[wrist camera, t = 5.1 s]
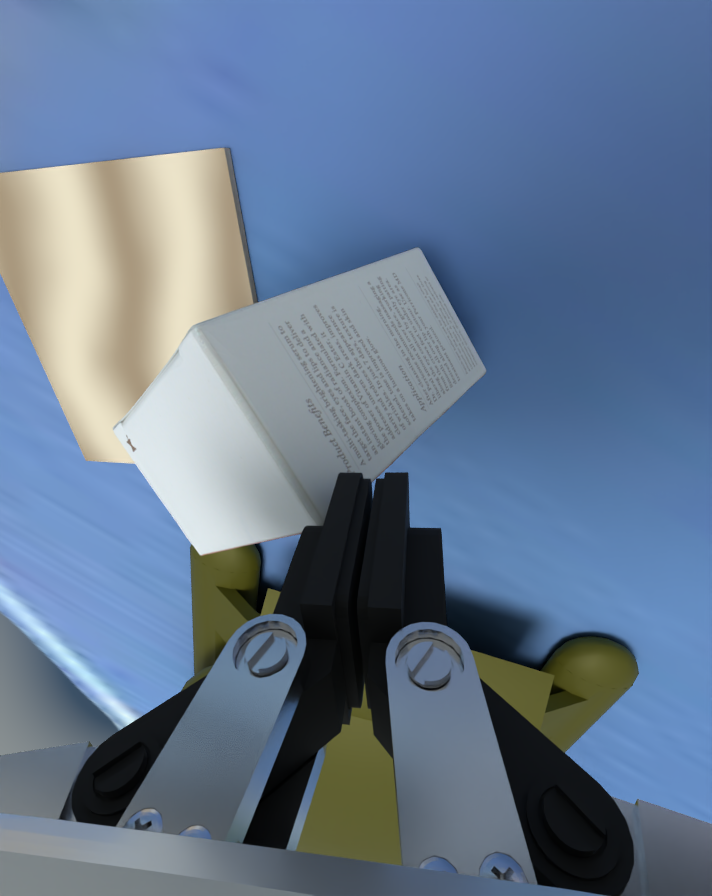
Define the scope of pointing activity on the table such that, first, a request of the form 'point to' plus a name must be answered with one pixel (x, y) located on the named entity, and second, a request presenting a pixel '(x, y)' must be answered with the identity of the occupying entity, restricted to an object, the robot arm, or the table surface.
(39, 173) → the board
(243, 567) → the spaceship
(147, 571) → the table surface
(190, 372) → the small box
